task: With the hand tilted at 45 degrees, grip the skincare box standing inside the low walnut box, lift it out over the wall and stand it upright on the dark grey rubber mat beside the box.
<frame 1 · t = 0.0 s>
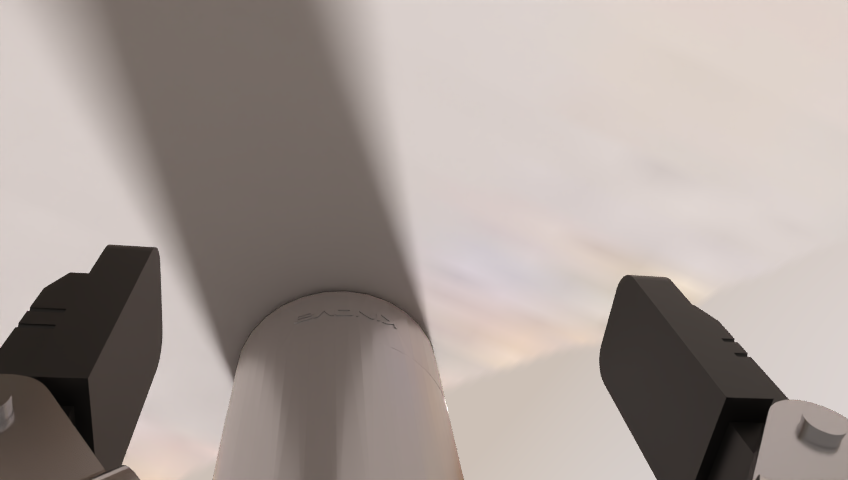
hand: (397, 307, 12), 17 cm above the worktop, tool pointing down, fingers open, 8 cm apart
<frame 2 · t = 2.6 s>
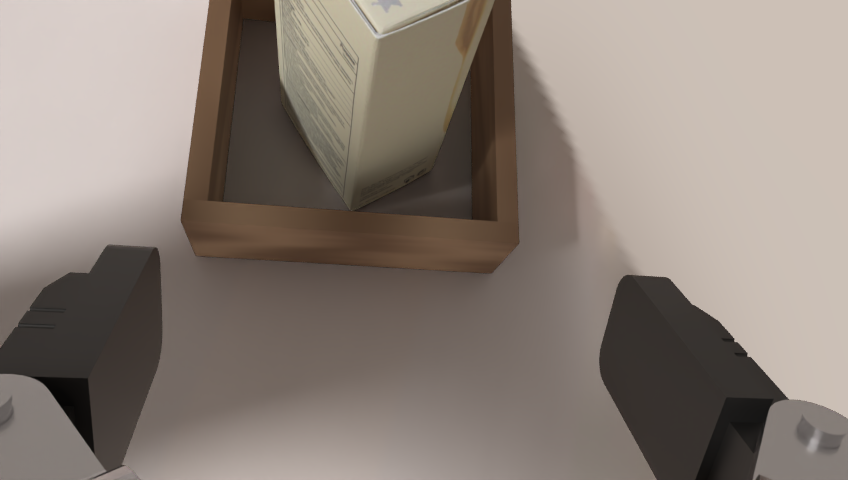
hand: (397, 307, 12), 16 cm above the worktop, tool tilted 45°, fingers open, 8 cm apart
skincare box: (354, 135, 31), resting in walnut box
walnut box: (354, 132, 31), on the worktop
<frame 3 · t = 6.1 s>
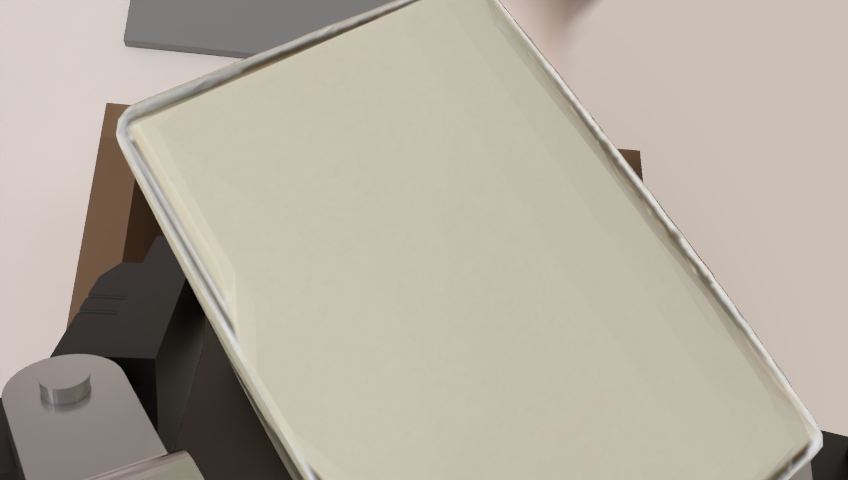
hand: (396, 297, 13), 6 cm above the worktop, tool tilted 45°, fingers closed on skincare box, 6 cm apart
skincare box: (361, 419, 18), resting in walnut box, touching gripper
walnut box: (362, 419, 18), on the worktop
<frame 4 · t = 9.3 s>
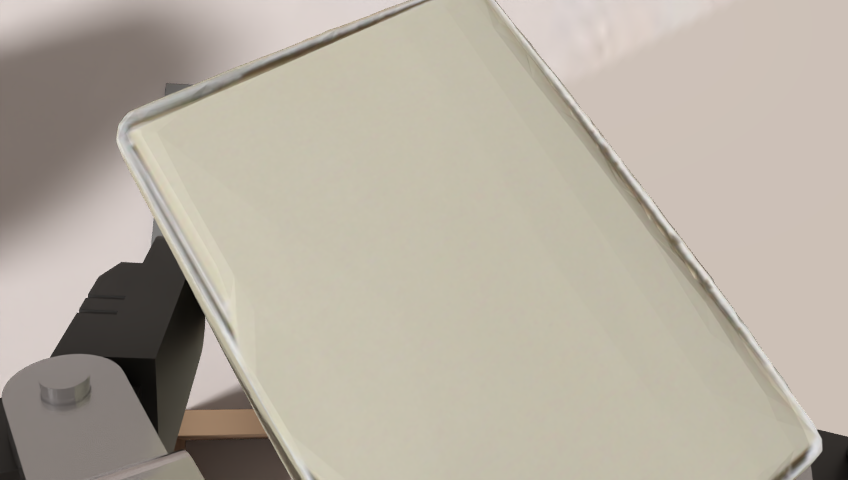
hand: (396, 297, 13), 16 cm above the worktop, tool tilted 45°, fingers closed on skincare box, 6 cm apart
skincare box: (362, 422, 18), point 10 cm above the worktop, touching gripper
rubber mat: (281, 198, 30), on the worktop
when the fingers open (7 cm above the worktop, at t = 12.6 s): skincare box drops 1 cm, resting on rubber mat.
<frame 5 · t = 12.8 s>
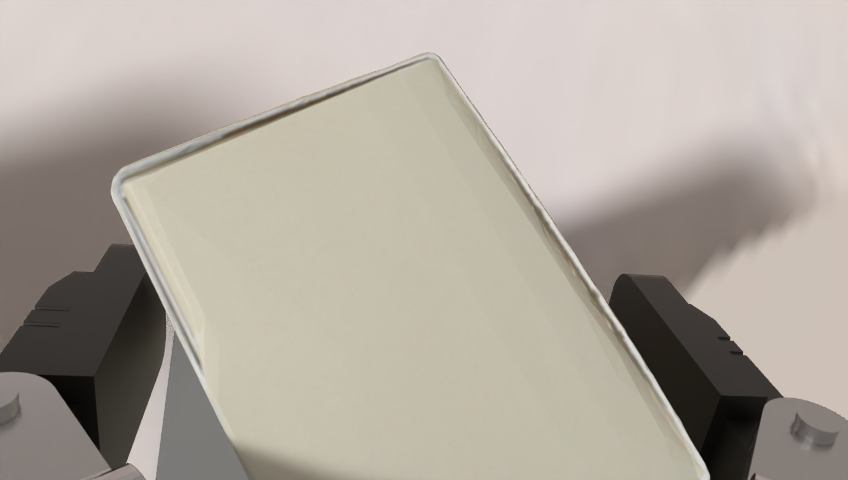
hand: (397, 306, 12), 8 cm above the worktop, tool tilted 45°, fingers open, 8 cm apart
skincare box: (344, 431, 19), resting on rubber mat
rubber mat: (359, 425, 19), on the worktop
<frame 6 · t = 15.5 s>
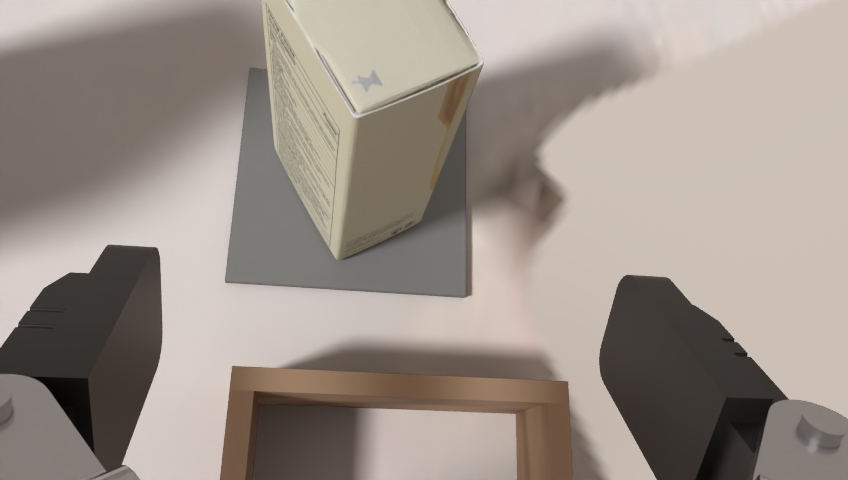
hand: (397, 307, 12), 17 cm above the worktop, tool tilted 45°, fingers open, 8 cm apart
skincare box: (345, 183, 32), resting on rubber mat
rubber mat: (354, 181, 32), on the worktop
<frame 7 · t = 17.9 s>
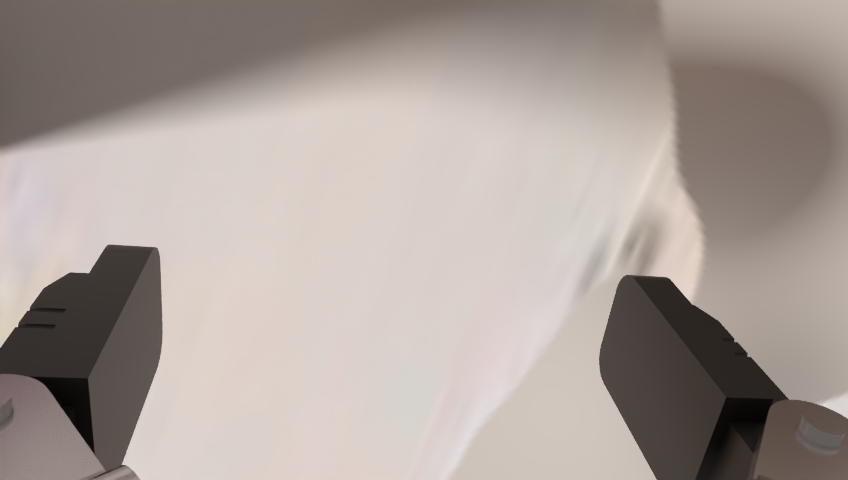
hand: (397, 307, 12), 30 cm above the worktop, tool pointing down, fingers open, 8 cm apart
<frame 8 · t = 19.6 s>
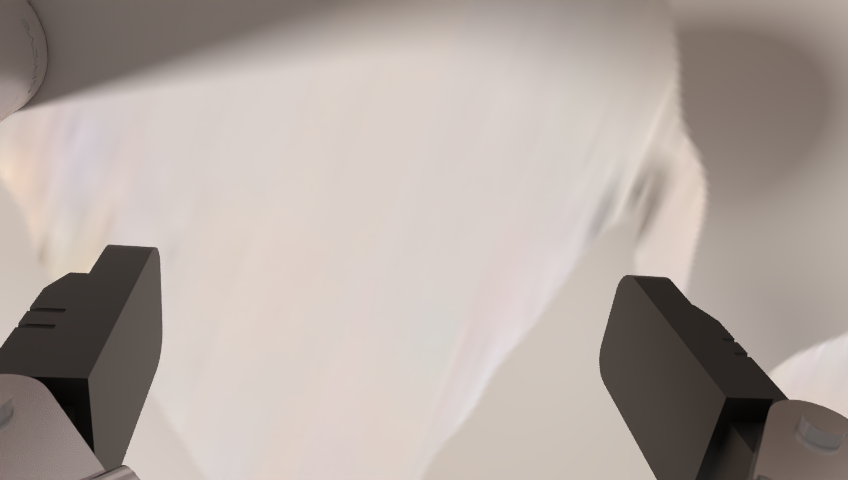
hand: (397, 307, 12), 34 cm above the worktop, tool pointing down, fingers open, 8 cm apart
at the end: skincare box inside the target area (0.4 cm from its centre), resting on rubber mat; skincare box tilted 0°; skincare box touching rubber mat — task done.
